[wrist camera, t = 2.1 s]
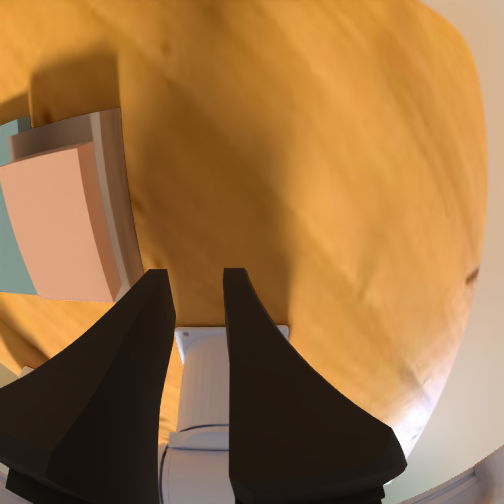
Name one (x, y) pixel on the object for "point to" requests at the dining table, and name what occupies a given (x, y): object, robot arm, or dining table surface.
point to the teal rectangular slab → (3, 238)
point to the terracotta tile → (62, 224)
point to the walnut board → (109, 174)
